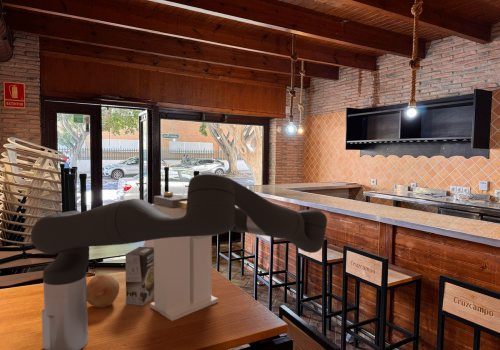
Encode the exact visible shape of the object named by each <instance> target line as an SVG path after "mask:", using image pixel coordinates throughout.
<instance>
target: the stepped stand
mask: <svg viewBox="0 0 500 350" xmlns="http://www.w3.org/2000/svg"><path fill="white" fill-rule="evenodd" d="M151 204H152V205H153V206H155V207H156V208H158V209H159V210H161V211H162V212H164V213H165V214H168V215H170V216H172V217H175V218H179V217H183V216H185V215H186V210H185V209H180V208H173V209H172V208H168V207H164V206H159V205H155V204H154V203H151ZM213 236H215V235H208V236H189V237H170V238H161V239H154V297H153V298H154V301H152V302H150V303H149V305H150V306H149V307H150V308H151V309H153V310H155V311H156V312H158V313H159V314H161V316H164V317H165V318H167V319H168V320H170V321H172V322H173V321H175V320H178V319H180V318H182V317H185V316H187V315H189V314H193V313H194V312H197V311H199V310H202V309H204V308H206V307H209V306H213V305H215V304H216V303H218V302H219V301H218V299H219V298H218V297H216V296H213V295H212V276H213V275H212V272H213V271H212V269H213V268H212V260H213V259H212V256H213V255H212V253H213V252H212V250H213V249H212V248H213V247H212V246H213V244H212V243H213V242H212V240H213V239H212V237H213Z"/></svg>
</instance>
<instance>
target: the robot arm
mask: <svg viewBox="0 0 500 350" xmlns="http://www.w3.org/2000/svg"><path fill="white" fill-rule="evenodd" d="M187 186H188V187H187V195H186V197H187V207H186V215H185V216H183V217H179V218H175V217H172V216H170V215H168V214H165V213H164V212H162V211H161V210H159V209H158V208H156V207H155V206H153V205H152V204H153V203H150V202H148V201H146V200H143V199H139V198H131V199H130V198H129V199H125V200H120V201H115V202H112V203H108V204H104V205H100V206H97V207H94V208H92V209H91V208H90V209H88V210H85V211H83V212H81V211H78V210H69V211H63V212H59V213H52V214H49V215H46V216H43V217H41V218H39V219H38V220H37V221H36V222H35V224H34V225H33V226H32V228H31V231H30V240H31V243H32V245H33V246H34V247H35V248H36V249H37V251H39V252H41V253H43V254H46V255H57V254H58V255H57V256H56V257H55V259H54V260H52V262H51V263H49V264H48V265H47V266H45V268H44V270H43V272H42V281H43V306H44V308H43V309H42V310H41V326H42V347H43V349H44V350H81V349H83V348H85V346H86V345H87V344H88V341H89V331H88V330H89V329H88V328H89V327H88V302H87V284H88V283H87V267H88V266H89V263H90V247H103V246H104V247H105V246H106V247H108V246H117V245H118V246H119V245H126V244H127V245H129V244H136V243H141V242H145V241H148V240H154V239H161V238H170V237H189V236H208V235H214V236H217V235H223V234H226V233H229V232H234V233H238V234H245V233H248V234H252V235H257V236H264V237H271V238H275V239H280V240H286V241H289V242H290V243H291V244H293V245H294V246H295V247H296V248H298V250H299V249H300V250H301V251H303V252H305V253H310V254H312V253H313V254H314V253H317V252H319V251H320V250H321V249H322V248H323V246H324V241H325V236H326V230H327V225H328V217H327V216H326V214H325V213H324V212H322V211H321V210H318V209H305V210H298V211H296V210H294V209H291V208H288V207H285V206H282V205H279V204H276V203H274V202H272V201H271V200H270V201H269V199H266V198H264V197H262V196H261V195H259V194H258V193H256V192H255V191H253V190H251V189H249V188H247V187H246V186H245V185H243V184H241V183H239V182H238V181H236V180H234V179H232V178H230V177H227V176H225V175H222V174H217V173H210V172H209V173H208V172H206V173H205V172H204V173H200V174H197V175H194V176H193V177H192V178H191V179H190V180H189V182H188V185H187Z"/></svg>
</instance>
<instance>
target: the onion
mask: <svg viewBox="0 0 500 350" xmlns="http://www.w3.org/2000/svg"><path fill="white" fill-rule="evenodd" d="M86 284H87V304H89V305H91V306H92V307H94V308H105V307H109V306H110V305H112V304H113V303H114V302H115V300H116V299H117V297H118V296H119V291H120V284H119V281H118V280H117V279H115V277H113V276H112V275H110V274H107V273H98V274H96V275H94V276H93V277H92V278H90V280H89V281H88V283H86Z"/></svg>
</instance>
